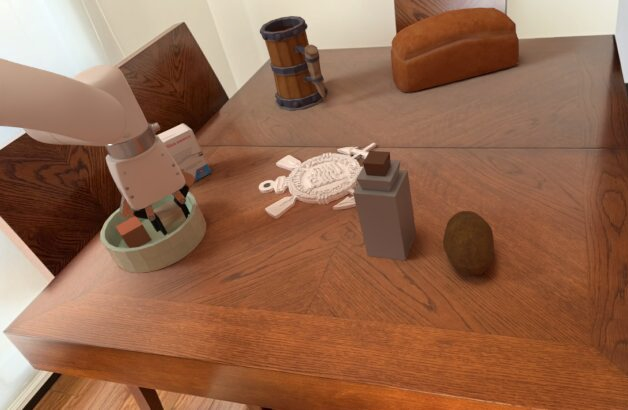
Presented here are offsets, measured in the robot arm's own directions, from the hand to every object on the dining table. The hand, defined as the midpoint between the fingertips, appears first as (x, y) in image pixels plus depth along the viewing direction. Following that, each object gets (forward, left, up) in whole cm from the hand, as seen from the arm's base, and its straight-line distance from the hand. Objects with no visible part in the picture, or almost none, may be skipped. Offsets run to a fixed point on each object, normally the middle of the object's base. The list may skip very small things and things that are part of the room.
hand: (174, 224), depth 93 cm
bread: (+81, +4, -4) cm, 81 cm away
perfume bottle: (+25, -32, -4) cm, 41 cm away
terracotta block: (-6, +6, -3) cm, 9 cm away
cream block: (0, 0, 0) cm, 0 cm away
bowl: (-3, +4, -4) cm, 6 cm away
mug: (+48, +27, -4) cm, 55 cm away
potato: (+31, -44, -4) cm, 54 cm away
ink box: (+10, +19, -4) cm, 22 cm away
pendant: (+29, -7, -4) cm, 30 cm away
